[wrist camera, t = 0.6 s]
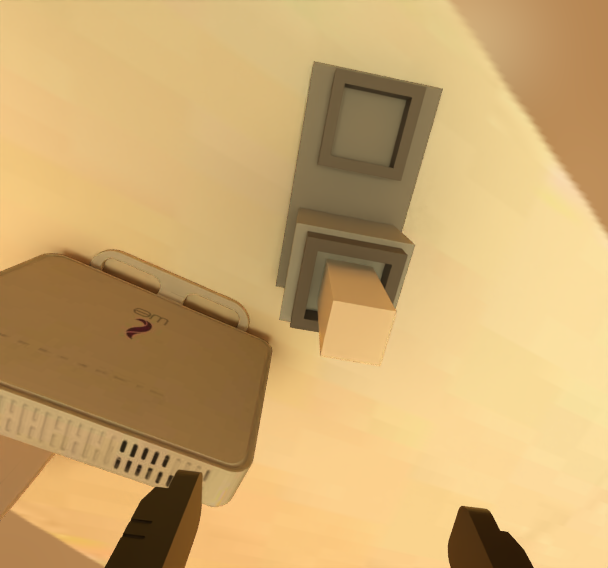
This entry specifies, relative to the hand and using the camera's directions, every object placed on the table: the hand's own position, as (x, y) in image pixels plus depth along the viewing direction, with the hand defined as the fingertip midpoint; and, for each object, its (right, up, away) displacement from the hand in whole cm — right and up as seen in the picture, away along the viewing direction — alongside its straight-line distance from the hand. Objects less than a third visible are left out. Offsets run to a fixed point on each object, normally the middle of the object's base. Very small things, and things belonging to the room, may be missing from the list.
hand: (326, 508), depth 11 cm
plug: (+3, +7, +20) cm, 22 cm away
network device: (-17, +4, +31) cm, 36 cm away
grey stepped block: (+4, +16, +26) cm, 31 cm away
